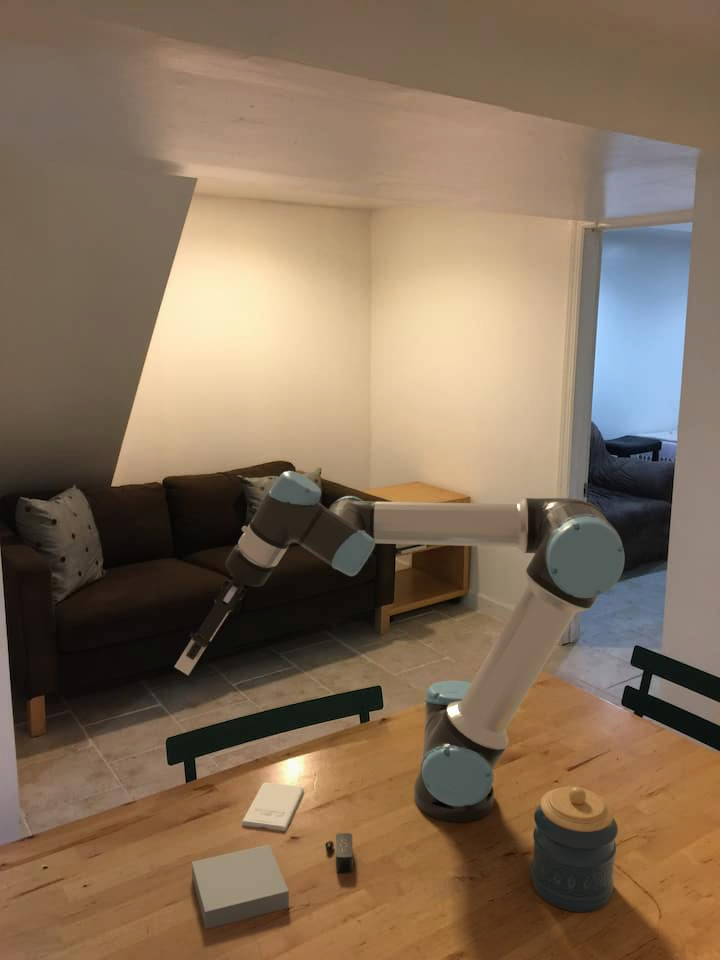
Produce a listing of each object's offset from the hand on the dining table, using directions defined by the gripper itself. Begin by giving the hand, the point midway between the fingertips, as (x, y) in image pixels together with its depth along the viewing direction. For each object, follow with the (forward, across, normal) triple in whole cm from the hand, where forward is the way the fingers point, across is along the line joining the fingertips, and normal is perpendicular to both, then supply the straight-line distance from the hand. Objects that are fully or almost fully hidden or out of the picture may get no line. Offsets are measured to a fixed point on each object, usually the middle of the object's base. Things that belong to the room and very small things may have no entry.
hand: (193, 652), depth 142 cm
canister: (-6, +10, +72) cm, 73 cm away
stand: (+22, +17, +27) cm, 39 cm away
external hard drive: (+22, -6, +28) cm, 37 cm away
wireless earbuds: (+15, +7, +40) cm, 43 cm away
